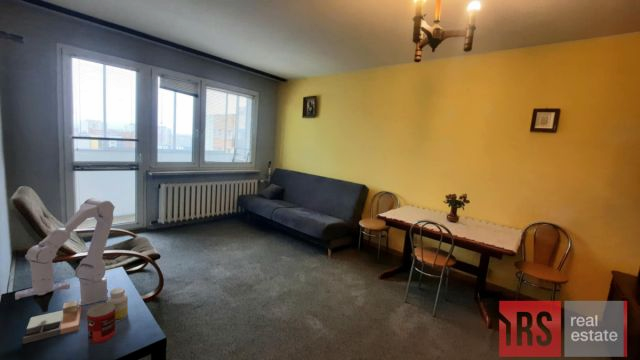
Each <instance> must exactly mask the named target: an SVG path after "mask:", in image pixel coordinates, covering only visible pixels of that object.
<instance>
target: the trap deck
mask: <svg viewBox="0 0 640 360" xmlns="http://www.w3.org/2000/svg"><path fill="white" fill-rule="evenodd" d="M81 315H82V306H78V312H77V315H74V316H70V317H66V318H63V309H62V310H58V311H54V312H48V313H45V314H40V315H36V316H32V317H30V319H29V322H28V325H27V327H26V330H25V331H26V336H23V337H22V344H23V345H24V344H29V343H32V342H36V341H40V340H41V341H42V340H43V339H47V338H52V337H55V336H58V335H59V336H60V335H63V334H67V333H71V332H74V331H79V329H80V323H81Z"/></svg>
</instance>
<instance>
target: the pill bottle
mask: <svg viewBox="0 0 640 360" xmlns="http://www.w3.org/2000/svg"><path fill="white" fill-rule="evenodd" d="M125 292H126V290H125V288H124V287H116V288H113V289H111V290H110V292H109V295H110V296H109V297H108V298H107V303H112V304H114V305H115V323H117V322H120V321H122V320H124V319H126V317H127V316H128V314H129V307H128V305H129V304H128V303H129V301H128V300H129V299H128V294H126V293H125Z"/></svg>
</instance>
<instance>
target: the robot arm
mask: <svg viewBox="0 0 640 360" xmlns="http://www.w3.org/2000/svg"><path fill="white" fill-rule="evenodd" d="M115 208H116V207H115V205H114V203H112V202H111V201H110V200H102V199H96V198H92V197H91V198H87V199H86V200H85V201H84V202H83V203H81V204H80V206H79V209H78V210H77V211H76V212H75V213H74V214H73V215H72V216H71V218H70V219H69V220H68V221H67V222H65V224H64V225H63V226H62V227H59V228H55V229H53V230H51V231H50V232H49V234H48V235H47V236H46V237H45V238H43V239H42V241H39V243H38V244H36V245H32V246H31V247H30V248H29V249H28V250H27V252H26V254H25V255H24V257H25V259H26V260H27V261H28V262H29V265H30V272H31V273H30V274H31V285H32V287H31V288H27V289H24V290H20V291H16V292H15V293H14V297H15V298H14V299H15V300H19V299H21V298H26V297H30V296H33V298H32V300H33V301H34V302H35V303H36V304H37V305H38V307H40V308H39V309H41V312H42V313H47V312H48V311H49V303H51V300H52V297H53V295H54V294H55V293H54V292H56V291H57V292H58V291H61V290H70V287H71V286H70V285H71V283H70V281H67V282H58V283H55V282H54V281H55V280H54V279H55V278H54V269H53V268H54V267H53V266H54V265H53V260H54V259H55V258H56V255H57V253H58V251H59V249H60V248H61V247H62V246H63V245H64V244H65V243H66V242H67V241H68V240H70V238H71V233H72V232H73V231H74V230H75V229H77V228H78V227H80V225H82V224H83V223H84V222H85V221H87V220H88V219H91V218H94V219H95V220H96V224H95V227H94V231H93V234H92V237H91V241H90V243H89V248H88V251H87V254H86V257H85V258H83V259H82V260H80V261H79V264H78V266H77V267H76V269H75V271H74V276H75V277H76V278H77V279H78V281H79V289H80V290H79V292H80V293H79V295H80V296H79V302H78V307H80V306H81V307H82V306H84V305H91V304H94V303H95V304H96V303H99V302H103V301H108V294H109V289H108V284H107V283H108V280H107V278H108V277H107V276H105V275H106V264H107V263H106V262H105V261H104V259H103V255H104V252H105V250H106V246H107V241H108V240H109V235H110V231H111V228H112V225H113V222H114V211H115Z"/></svg>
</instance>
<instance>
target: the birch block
mask: <svg viewBox="0 0 640 360" xmlns="http://www.w3.org/2000/svg"><path fill="white" fill-rule="evenodd" d="M78 307H79V302H78V300H73V301H69V302H64V303H63V306H62V310H63V318H66V317H70V316H74V315H77V312H78Z"/></svg>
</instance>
